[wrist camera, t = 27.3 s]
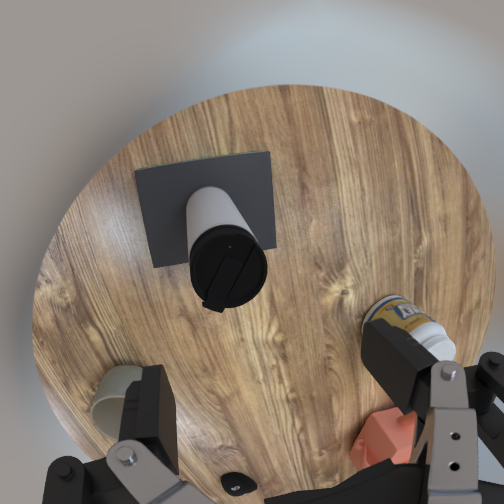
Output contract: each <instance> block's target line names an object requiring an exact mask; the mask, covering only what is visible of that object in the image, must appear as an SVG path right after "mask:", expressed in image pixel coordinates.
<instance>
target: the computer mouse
mask: <svg viewBox="0 0 504 504" xmlns="http://www.w3.org/2000/svg"><path fill="white" fill-rule="evenodd" d="M221 483H222V486H223V488H224V490H225V491H226V492H227V493H228V494H229V495H232V496H241V495H248V493H250V492H253V491H255V490H256V489H257V484H256V483H255V482H254V481H253V480H252V479H250V478H249V477H247V476H245V475H243V474H241V473H237V472H232V473H228V474H225V475H223V476H222V477H221Z"/></svg>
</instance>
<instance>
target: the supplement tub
mask: <svg viewBox="0 0 504 504" xmlns="http://www.w3.org/2000/svg"><path fill="white" fill-rule="evenodd" d="M378 318H383V319H385V320H386V321H387V322H388V323H389V324H390V325H391V326H397V327H399V328H401V329H404V330H406V331H407V332H408V333H409V334H410V335H411V336H412V337H413V338H415V339H416V340H417V341H418V342H419V344H421V345H423V346H424V347H425V348H426V349H427V350H428V351H429V352H430V353H431V354H433V355H434V356H435V357H436V358H437V359H438V360H439V361H443V360H449V361H453V359H454V356H455V345H454V343H453V342H452V341H451V340H450V338H449V337H448V336H447V334H446V331H445V330H444V328H443V327H442V326H441V325H440V324H438V323H437V322H436V321H434V320H433V319H432V318H430V317H429V316H428V315H426V314H425V313H424V312H423V311H421V310H420V309H419V308H417V307H416V306H415V305H413V304H412V303H411V302H409V301H408V300H407V299H405V298H403V297H401V296H397V295H391V296H388V297H385V298H383V299H381V300H380V301H378V302H377V303H376V304H375V305H374V306H373V307H372V308H371V309H370V310H369V311H368V313H367V315H366V316H365V319H364V321H363V324H362V334H363V325H364V323H365V322H368V321H371V320H375V319H378Z"/></svg>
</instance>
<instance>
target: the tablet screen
mask: <svg viewBox="0 0 504 504" xmlns="http://www.w3.org/2000/svg"><path fill="white" fill-rule="evenodd" d="M135 177H136V183H137V189H138V194H139V200H140V205H141V211H142V216H143V221H144V226H145V231H146V235H147V240H148V245H149V249H150V254H151V258H152V262H153V267H154V268H158V267H164V266H170V265H176V264H182V263H188V262H189V257H188V239H187V217H186V206H187V202H188V199H189V198H190V196H191V195H192V194H193V193H194V192H195V191H196V190H198V189H200V188H202V187H206V186H214V187H218V188H220V189H222V190H224V191H225V192H226V193H227V194H228V195H229V197H230V198H231V200H232V201H233V203H234V205H235V206H236V208H237V209H238V211H239V212H240V214H241V216H242V217H243V219H244V220H245V222H246V223H247V225H248V227H249V228H250V230H251V231H252V233H253V234H254V236H255V238H256V239H257V241H258V243H259V245H260V247H261V249H262V250H267V249H273V248H277V246H276V230H275V215H274V200H273V186H272V173H271V160H270V152H269V151H266V152H256V153H246V154H237V155H229V156H221V157H214V158H206V159H199V160H193V161H186V162H180V163H174V164H168V165H162V166H156V167H150V168H145V169H140V170H135Z"/></svg>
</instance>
